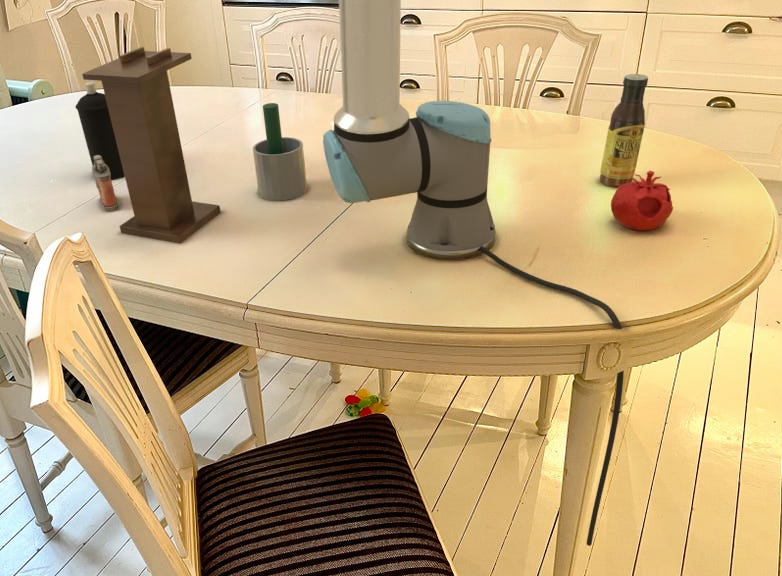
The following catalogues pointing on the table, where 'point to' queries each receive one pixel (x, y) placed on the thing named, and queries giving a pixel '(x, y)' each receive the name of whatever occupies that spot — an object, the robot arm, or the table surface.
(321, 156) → the table surface
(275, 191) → the steel cup
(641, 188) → the red hollow tomato
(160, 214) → the stand
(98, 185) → the lighter
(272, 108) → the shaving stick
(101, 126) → the aerosol can
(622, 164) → the sauce bottle
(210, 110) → the table surface
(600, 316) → the table surface
